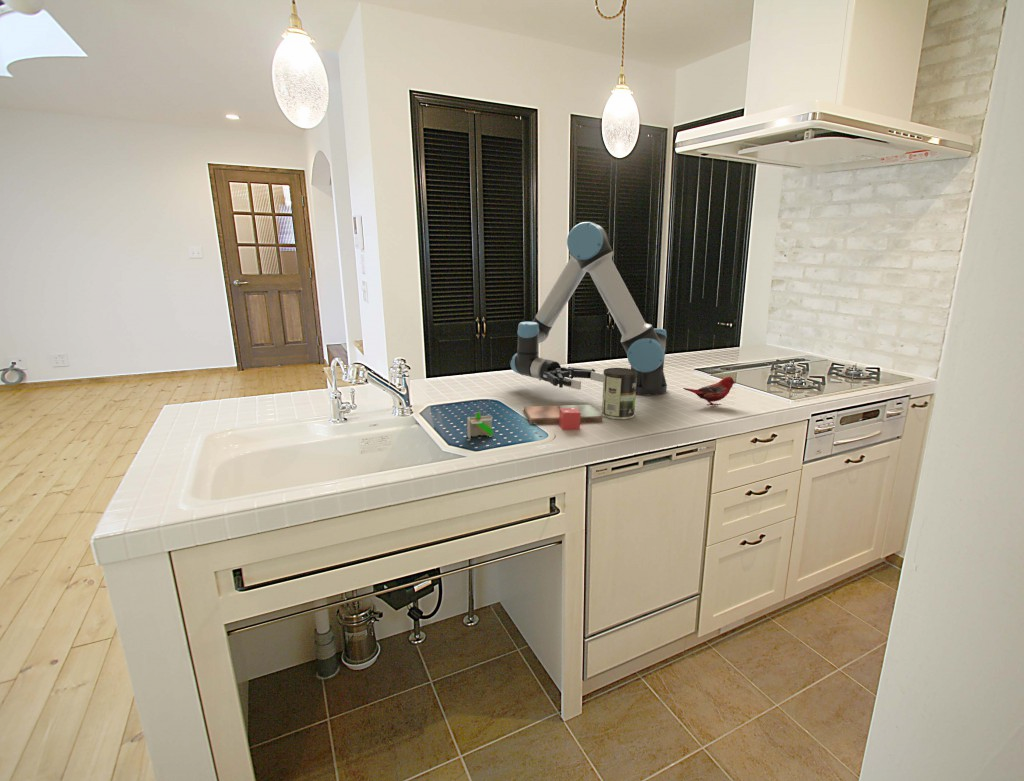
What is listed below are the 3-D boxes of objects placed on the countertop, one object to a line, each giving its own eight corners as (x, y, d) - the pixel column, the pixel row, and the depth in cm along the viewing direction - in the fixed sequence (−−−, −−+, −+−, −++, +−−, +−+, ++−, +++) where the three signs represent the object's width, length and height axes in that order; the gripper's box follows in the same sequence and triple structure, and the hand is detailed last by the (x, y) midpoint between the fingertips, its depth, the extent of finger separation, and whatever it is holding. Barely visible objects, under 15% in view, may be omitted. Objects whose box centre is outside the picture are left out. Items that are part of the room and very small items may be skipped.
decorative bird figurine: (735, 407, 175) (738, 377, 172) (682, 407, 174) (685, 378, 171) (731, 404, 178) (734, 375, 175) (679, 404, 177) (682, 376, 174)
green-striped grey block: (495, 440, 144) (495, 412, 142) (471, 442, 142) (470, 414, 140) (491, 435, 147) (491, 408, 145) (467, 438, 145) (467, 410, 143)
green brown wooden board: (590, 409, 171) (590, 404, 171) (602, 421, 159) (602, 416, 158) (523, 411, 168) (523, 406, 168) (530, 424, 156) (530, 418, 155)
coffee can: (634, 411, 170) (637, 368, 166) (634, 420, 160) (638, 375, 156) (601, 408, 172) (604, 366, 168) (600, 418, 162) (602, 373, 158)
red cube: (575, 423, 157) (576, 407, 155) (579, 429, 152) (580, 412, 151) (558, 424, 156) (559, 407, 155) (562, 429, 151) (563, 412, 150)
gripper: (569, 375, 195) (616, 387, 180) (520, 386, 178) (567, 400, 163) (570, 355, 193) (617, 365, 178) (520, 364, 176) (568, 376, 161)
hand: (593, 382), depth 170 cm, fingers open, 13 cm apart
